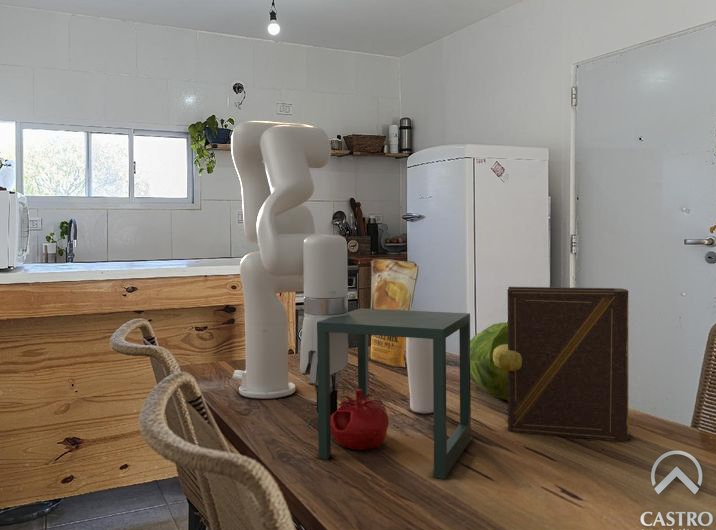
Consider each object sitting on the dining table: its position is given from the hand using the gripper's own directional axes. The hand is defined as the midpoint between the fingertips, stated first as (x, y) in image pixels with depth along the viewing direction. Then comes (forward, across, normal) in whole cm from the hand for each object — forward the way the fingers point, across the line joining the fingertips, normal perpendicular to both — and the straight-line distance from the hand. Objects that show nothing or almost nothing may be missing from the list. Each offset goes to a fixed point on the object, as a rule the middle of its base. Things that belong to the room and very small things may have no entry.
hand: (327, 413), depth 103 cm
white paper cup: (+5, -22, +10) cm, 25 cm away
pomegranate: (+5, 0, +6) cm, 8 cm away
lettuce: (+5, -41, +22) cm, 46 cm away
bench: (+4, 0, +13) cm, 13 cm away
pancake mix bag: (+5, -62, -12) cm, 63 cm away
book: (+4, -21, +35) cm, 41 cm away
